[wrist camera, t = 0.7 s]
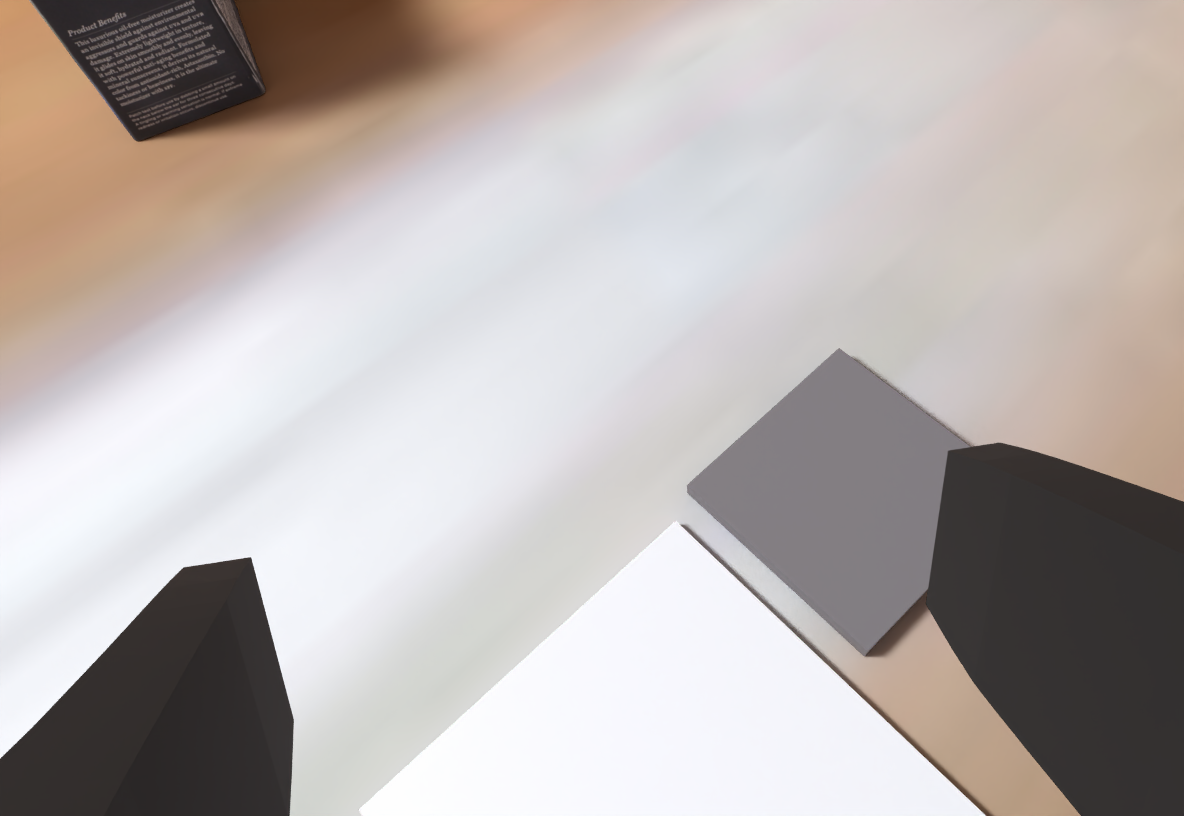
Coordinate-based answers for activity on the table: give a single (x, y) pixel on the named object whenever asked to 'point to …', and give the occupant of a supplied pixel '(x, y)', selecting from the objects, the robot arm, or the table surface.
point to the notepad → (671, 717)
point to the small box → (158, 57)
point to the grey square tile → (838, 496)
